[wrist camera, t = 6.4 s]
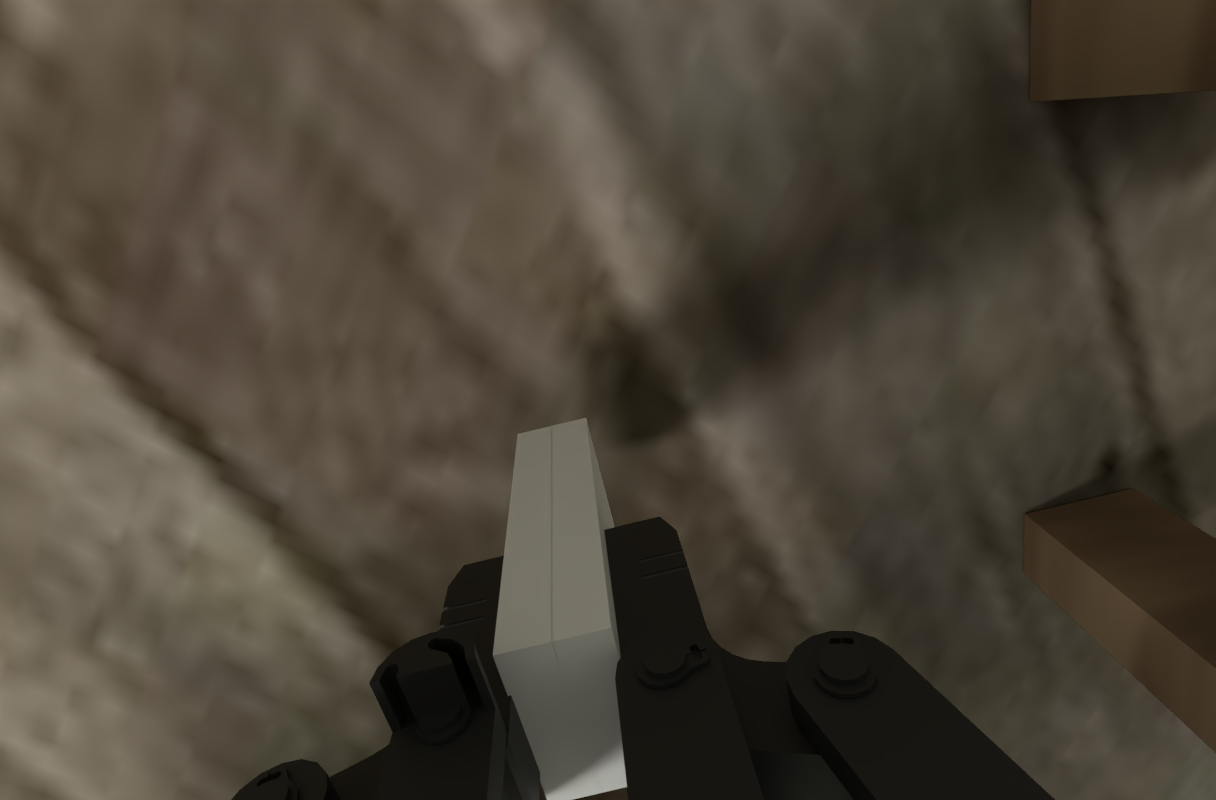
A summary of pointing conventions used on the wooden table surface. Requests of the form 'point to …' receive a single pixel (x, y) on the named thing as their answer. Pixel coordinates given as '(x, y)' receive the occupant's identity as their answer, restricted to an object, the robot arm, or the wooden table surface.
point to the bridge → (1127, 520)
